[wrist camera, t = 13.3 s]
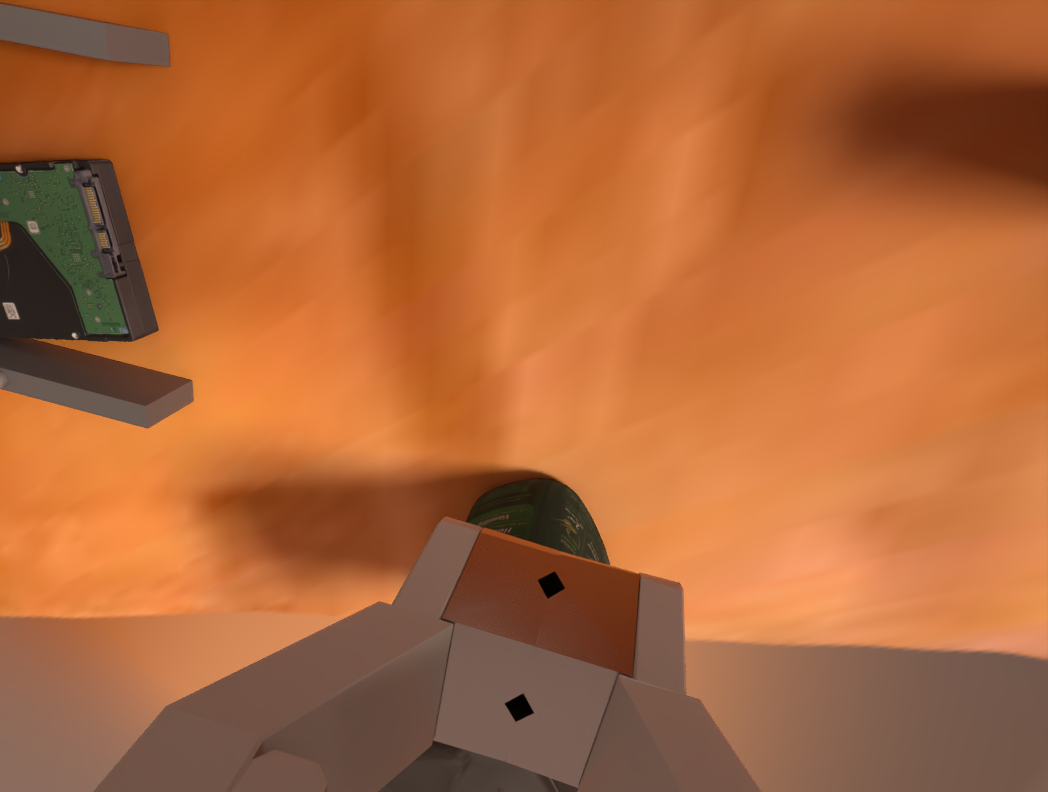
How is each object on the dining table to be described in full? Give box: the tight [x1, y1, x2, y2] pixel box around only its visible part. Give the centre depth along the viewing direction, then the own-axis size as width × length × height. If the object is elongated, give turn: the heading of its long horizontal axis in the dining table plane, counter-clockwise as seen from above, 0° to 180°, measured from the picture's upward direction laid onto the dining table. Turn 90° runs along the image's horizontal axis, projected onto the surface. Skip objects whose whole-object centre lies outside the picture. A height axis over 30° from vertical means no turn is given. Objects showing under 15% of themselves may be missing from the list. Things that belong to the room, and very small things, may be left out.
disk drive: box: [0, 160, 159, 342], centre depth 38 cm, size 10×3×15 cm
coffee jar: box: [378, 479, 610, 792], centre depth 31 cm, size 10×8×19 cm
